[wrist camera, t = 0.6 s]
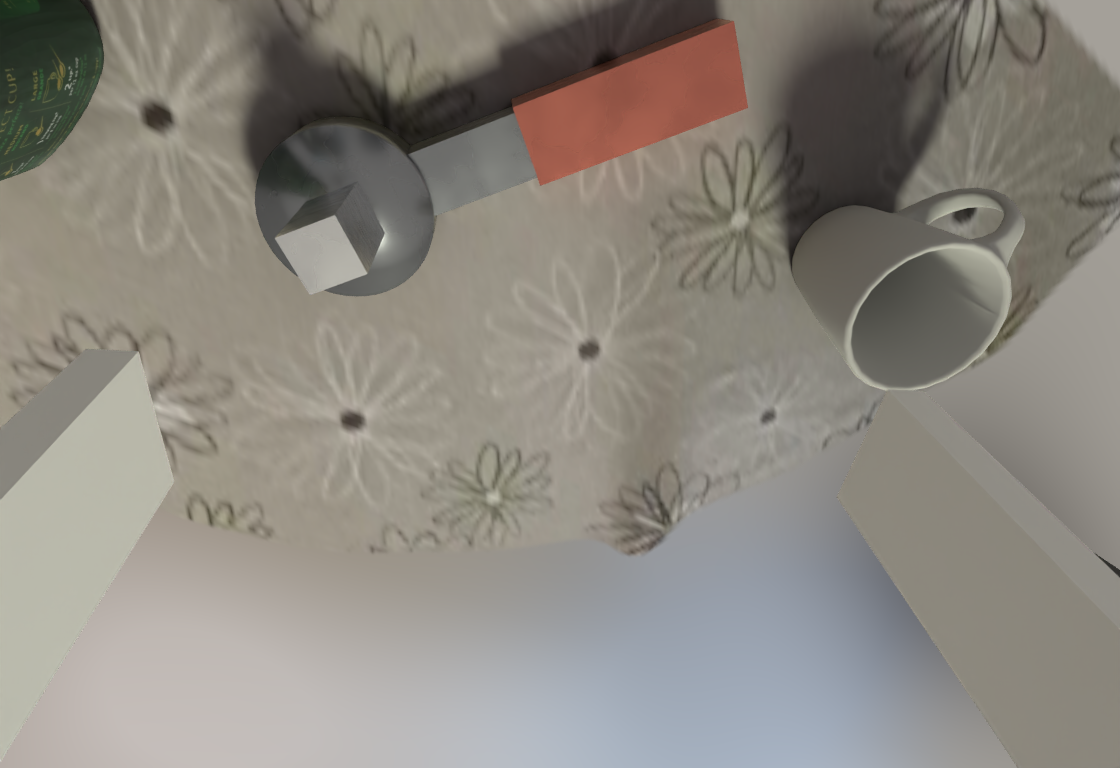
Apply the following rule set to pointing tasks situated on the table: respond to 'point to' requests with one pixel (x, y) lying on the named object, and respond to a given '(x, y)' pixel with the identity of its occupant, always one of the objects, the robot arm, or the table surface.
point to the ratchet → (476, 158)
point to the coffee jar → (43, 77)
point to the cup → (908, 287)
